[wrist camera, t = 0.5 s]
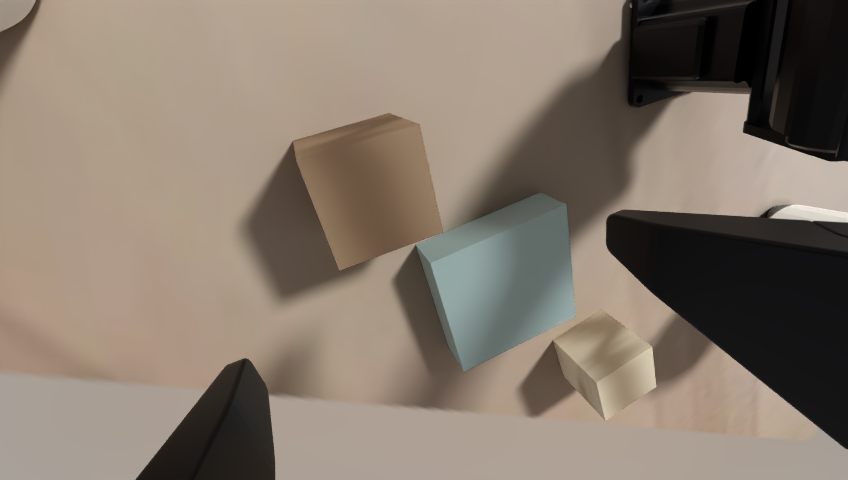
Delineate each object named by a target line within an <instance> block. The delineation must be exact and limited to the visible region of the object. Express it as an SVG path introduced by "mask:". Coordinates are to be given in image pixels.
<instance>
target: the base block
mask: <svg viewBox="0 0 848 480" xmlns="http://www.w3.org/2000/svg"><path fill="white" fill-rule="evenodd" d="M416 248H417V251H418V254H419V257H420V260H421V263H422V266H423V269H424V272H425V275H426V278H427V282H428V285H429V288H430V291H431V294H432V297H433V300H434V303H435V306H436V309H437V313H438V316H439V319H440V322H441V325H442V328H443V331H444V334H445V337H446V340H447V344H448V347H449V349H450V350H451V352H452V354H453V355H454V357H455V358H456V360H457V362H458V363H459V365H460V367H461V368H462V370H463V371H464V372H465V371H467V370H469V369H471V368H473V367H475V366H477V365H479V364H481V363H483V362H485V361H487V360H489V359H491V358H493V357H495V356H497V355H499V354H501V353H503V352H505V351H507V350H509V349H511V348H513V347H515V346H517V345H519V344H521V343H523V342H525V341H527V340H529V339H531V338H533V337H535V336H537V335H539V334H541V333H543V332H545V331H547V330H549V329H551V328H553V327H555V326H557V325H559V324H561V323H563V322H565V321H567V320H569V319H571V318H573V317H575V316H576V312H575V300H574V288H573V276H572V264H571V252H570V240H569V228H568V216H567V204H565V203H563V202H561V201H559V200H556V199H554V198H552V197H550V196H548V195H545V194H543V193H541V192H540V193H538V194H535V195H533V196H530V197H528V198H526V199H523V200H521V201H518V202H516V203H514V204H511V205H509V206H507V207H504V208H502V209H499V210H497V211H495V212H492V213H490V214H488V215H485V216H483V217H480V218H478V219H476V220H473V221H471V222H468V223H466V224H464V225H461V226H459V227H457V228H454V229H452V230H449V231H447V232H445V233H442V234H440V235H437V236H435V237H433V238H430V239H428V240H426V241H423V242H421V243H418V244H416Z"/></svg>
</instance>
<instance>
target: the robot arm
mask: <svg viewBox="0 0 848 480" xmlns="http://www.w3.org/2000/svg"><path fill="white" fill-rule="evenodd" d="M686 91H687V92H711V93H735V94H750V98H749V105H748V113H747V120H746V121H745V122H744V127H743V132H744V133H746V134H749V135H752V136H755V137H758V138H761V139H764V140H767V141H770V142H773V143H776V144H778V145H781V146H784V147H787V148H790V149H793V150H796V151H799V152H802V153H805V154H808V155H811V156H815V157H818V158H821V159H824V160H827V161H848V0H633V2H632V25H631V48H630V71H629V94H628V103H629V105H630V106H631V107H641V106H644V105H647V104H650V103H653V102H656V101H659V100H662V99H665V98H668V97H671V96H674V95H677V94H680V93H683V92H686ZM637 97H638V99H637ZM606 245H607V248H608V250H609V251H610V253H611V254H612V255H613V256H614V257H615V258H616V259H617V260H618V261H619V262H621V263H622V264H623V265H624V266H625V267H626V268H627V269H628V270H629V271H630V272H631V273H632V274H633V275H634V276H635V277H636V278H637V279H638V280H639V281H640V282H641V283H642V284H643V285H644V286H645V287H646V288H647V289H648V290H649V291H651V292H652V293H653V294H654V295H655V296H656V297H658V298H659V299H660V300H661V301H662V302H664V303H665V304H666V305H667V306H669V307H670V308H671V309H672V310H674V311H675V312H676V313H677V314H679V315H680V316H681V317H682V318H684V319H685V320H686V321H687V322H688V323H690V324H691V325H692V326H693V327H695V328H696V329H697V330H698V331H700V332H701V333H702V334H703V335H705V336H706V337H707V338H708V339H710V340H711V341H712V342H713V343H715V344H716V345H717V346H718V347H720V348H721V349H722V350H723V351H725V352H726V353H727V354H728V355H730V356H731V357H732V358H733V359H734V360H736V361H737V362H738V363H739V364H741V365H742V366H743V367H744V368H746V369H747V370H748V371H749V372H751V373H752V374H753V375H754V376H756V377H757V378H758V379H759V380H761V381H762V382H763V383H764V384H766V385H767V386H768V387H769V388H771V389H772V390H773V391H774V392H775V393H777V394H778V395H779V396H780V397H782V398H783V399H784V400H785V401H787V402H788V403H789V404H790V405H792V406H793V407H794V408H795V409H797V410H798V411H799V412H800V413H802V414H803V415H804V416H805V417H807V418H808V419H809V420H810V421H812V422H813V423H814V424H815V425H817V426H818V427H819V428H820V429H822V430H823V431H824V432H825V433H827V434H828V435H829V436H830V437H831V438H833V439H834V440H835V441H837V442H838V443H839V444H840V445H841V446H843V447H844V448H845V449H848V222H830V221H812V222H811V221H809V220H794V219H777V218H760V217H743V216H726V215H709V214H691V213H674V212H657V211H640V210H621V211H618V212H616V213H613V214H611V215H609V216H608V218H607V221H606ZM270 416H271V415H270V406H269V396H268V390H267V387H266V385H265V383H264V381H263V380H262V378H261V376H260V375H259V373H258V372H257V370H256V369H255V367H254V365H253V364H252V362H251V361H250V360H249V359H246V358H244V359H241V360H239V361H236V362H233V363H231V364H228V365H227V366H226V367H225V368H224V369H223V370H222V371H221V373H220V374H219V375H218V376H217V378H216V379H215V380H214V381H213V383H212V384H211V385H210V386H209V388H208V389H207V390H206V392H205V393H204V394H203V395H202V397H201V398H200V399H199V400H198V402H197V403H196V404H195V405H194V407H193V408H192V409H191V411H190V412H189V413H188V414H187V415H186V417H185V418H184V419H183V421H182V422H181V423H180V424H179V426H178V427H177V428H176V430H175V431H174V432H173V433H172V435H171V436H170V437H169V438H168V440H167V441H166V442H165V443H164V445H163V446H162V447H161V448H160V450H159V451H158V452H157V454H156V455H155V456H154V457H153V458H152V460H151V461H150V462H149V464H148V465H147V466H146V467H145V468H144V470H143V471H142V472H141V473H140V475H139V476H138V477H137V478H136V480H275V456H274V445H273V435H272V425H271V417H270Z"/></svg>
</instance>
